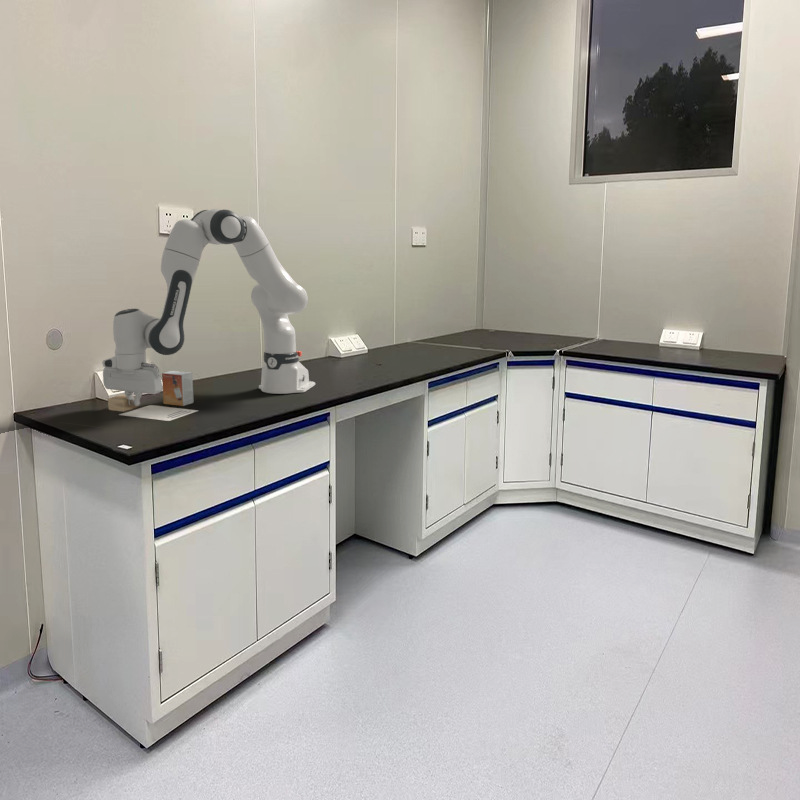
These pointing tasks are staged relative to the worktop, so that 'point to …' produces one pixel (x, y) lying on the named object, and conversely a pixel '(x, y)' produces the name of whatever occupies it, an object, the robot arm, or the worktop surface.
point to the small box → (177, 388)
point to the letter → (159, 412)
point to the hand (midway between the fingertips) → (134, 405)
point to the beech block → (120, 403)
